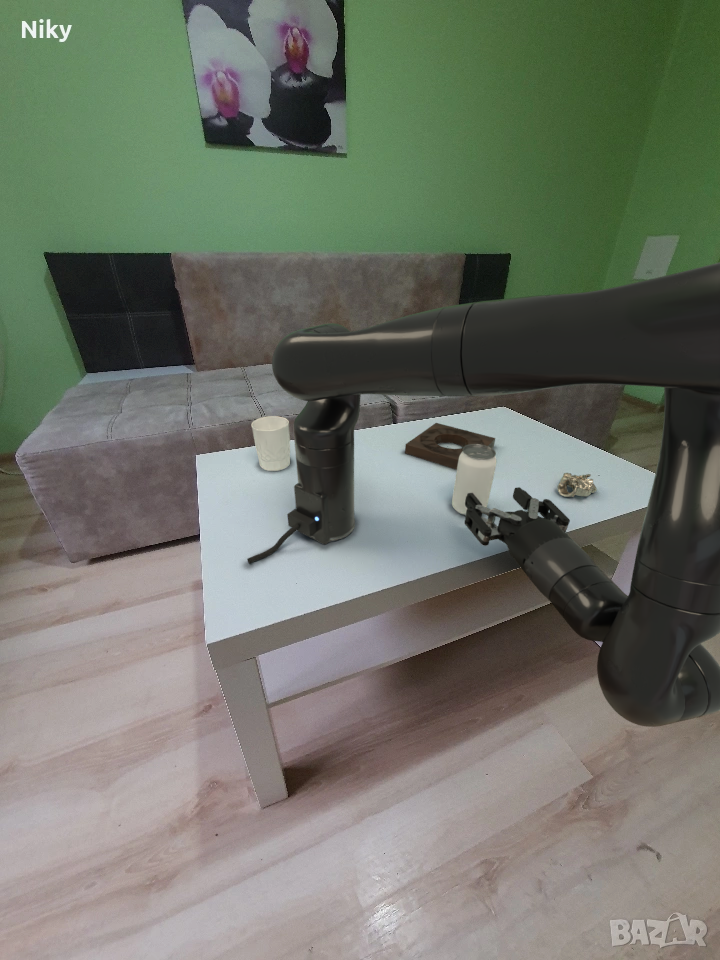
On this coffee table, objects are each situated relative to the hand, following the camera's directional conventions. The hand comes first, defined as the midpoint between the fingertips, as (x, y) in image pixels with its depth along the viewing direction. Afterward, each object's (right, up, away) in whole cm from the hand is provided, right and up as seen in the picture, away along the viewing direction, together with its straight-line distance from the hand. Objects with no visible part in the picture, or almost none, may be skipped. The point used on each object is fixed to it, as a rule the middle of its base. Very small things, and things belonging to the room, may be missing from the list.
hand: (492, 494), depth 64 cm
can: (-1, -3, +9) cm, 10 cm away
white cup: (-41, +6, +23) cm, 48 cm away
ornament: (+21, 0, +14) cm, 26 cm away
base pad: (0, +10, +29) cm, 31 cm away
